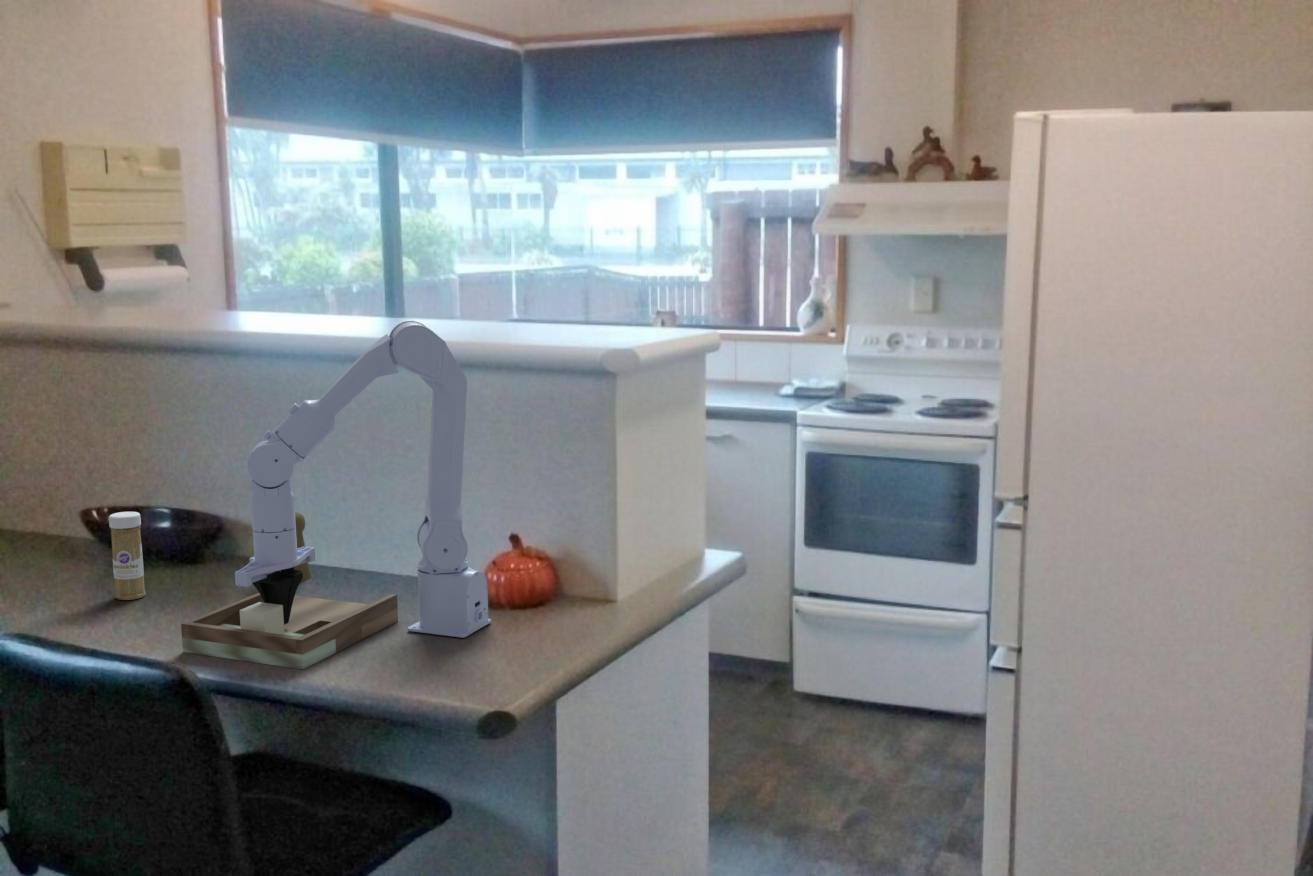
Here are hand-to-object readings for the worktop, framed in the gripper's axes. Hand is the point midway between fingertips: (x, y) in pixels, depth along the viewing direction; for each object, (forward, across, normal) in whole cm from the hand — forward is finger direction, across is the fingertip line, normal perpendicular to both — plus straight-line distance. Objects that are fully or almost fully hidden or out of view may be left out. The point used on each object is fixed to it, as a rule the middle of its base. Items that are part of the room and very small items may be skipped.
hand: (280, 623), depth 172 cm
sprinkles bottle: (+3, -10, -37) cm, 38 cm away
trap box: (+3, -3, 0) cm, 4 cm away
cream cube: (+1, +4, 0) cm, 4 cm away
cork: (+3, -28, -20) cm, 34 cm away
